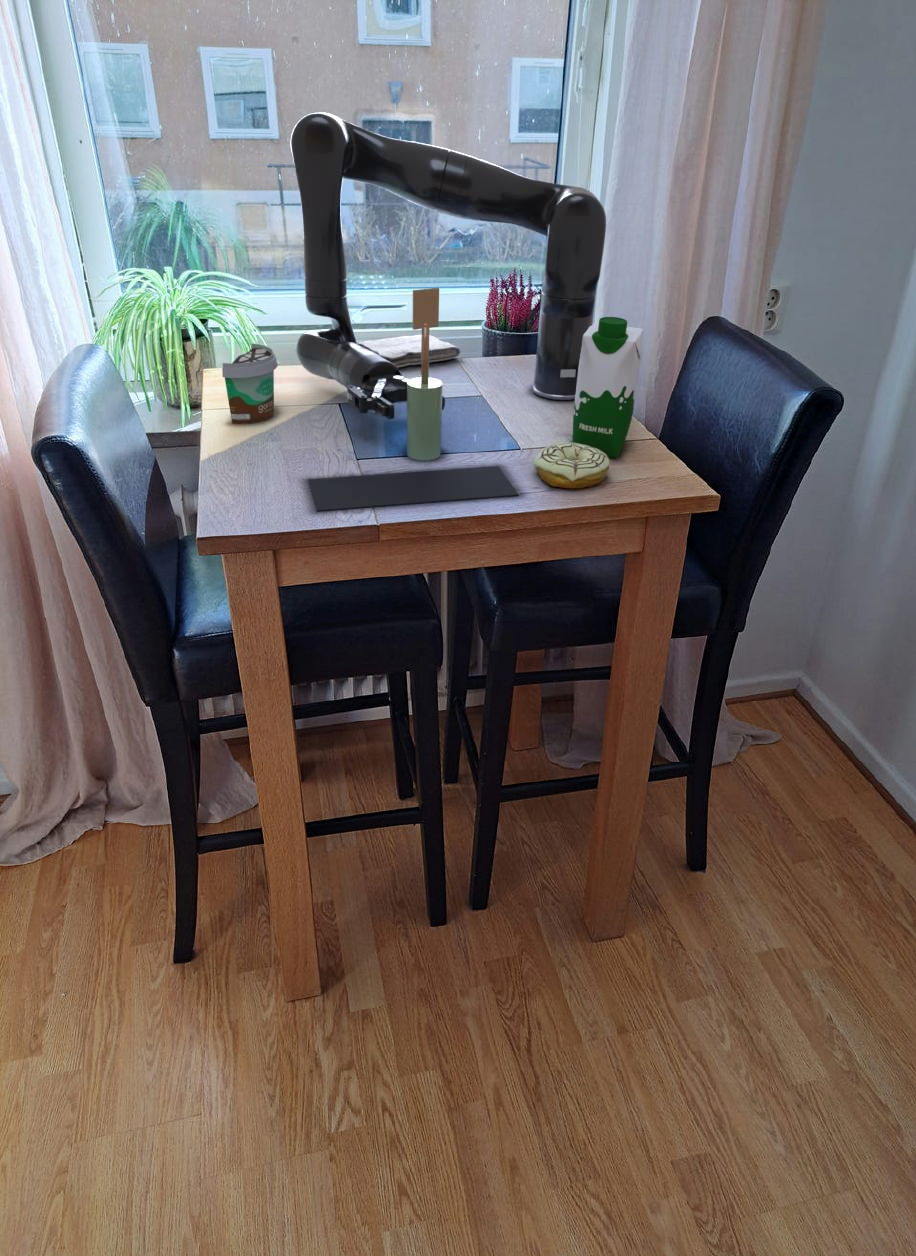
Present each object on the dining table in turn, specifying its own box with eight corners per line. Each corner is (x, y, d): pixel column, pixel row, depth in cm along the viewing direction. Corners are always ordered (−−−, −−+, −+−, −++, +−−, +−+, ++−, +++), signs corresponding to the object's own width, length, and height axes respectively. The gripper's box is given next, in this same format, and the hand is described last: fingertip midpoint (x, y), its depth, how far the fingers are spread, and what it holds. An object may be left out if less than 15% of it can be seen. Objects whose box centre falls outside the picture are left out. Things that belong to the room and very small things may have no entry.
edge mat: (498, 467, 131) (498, 466, 131) (518, 495, 123) (518, 494, 123) (308, 480, 125) (308, 479, 125) (316, 511, 117) (316, 510, 117)
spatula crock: (430, 445, 137) (433, 283, 124) (447, 457, 134) (452, 291, 120) (400, 451, 135) (400, 286, 122) (417, 463, 131) (418, 295, 118)
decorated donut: (519, 476, 129) (521, 451, 127) (564, 456, 135) (567, 433, 133) (576, 498, 123) (579, 473, 121) (620, 477, 130) (624, 453, 127)
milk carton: (565, 453, 137) (579, 320, 126) (578, 433, 144) (592, 306, 133) (621, 462, 134) (641, 328, 123) (631, 442, 142) (651, 313, 131)
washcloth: (352, 355, 175) (351, 339, 173) (430, 344, 183) (430, 328, 181) (381, 372, 167) (380, 355, 165) (461, 359, 175) (461, 343, 173)
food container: (264, 430, 140) (259, 367, 134) (228, 426, 141) (221, 364, 135) (292, 405, 150) (288, 345, 145) (258, 401, 151) (252, 342, 145)
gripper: (327, 359, 138) (374, 390, 127) (407, 348, 145) (459, 377, 133) (329, 406, 142) (375, 440, 131) (407, 393, 149) (457, 425, 137)
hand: (417, 408), depth 132 cm, fingers open, 8 cm apart
